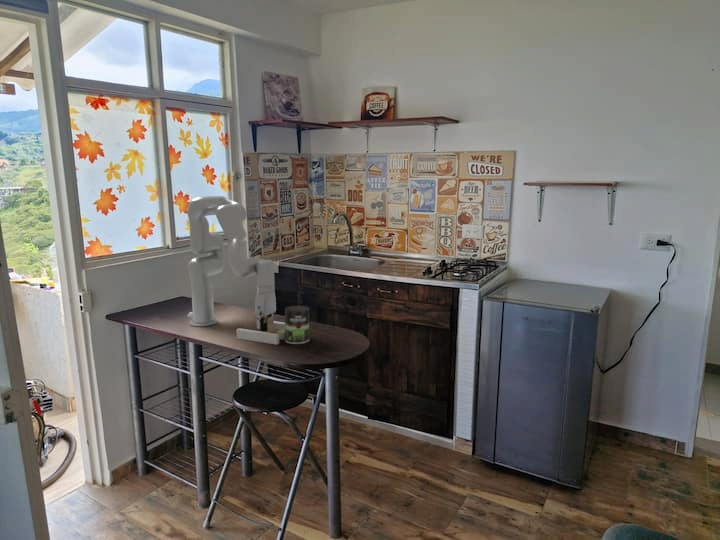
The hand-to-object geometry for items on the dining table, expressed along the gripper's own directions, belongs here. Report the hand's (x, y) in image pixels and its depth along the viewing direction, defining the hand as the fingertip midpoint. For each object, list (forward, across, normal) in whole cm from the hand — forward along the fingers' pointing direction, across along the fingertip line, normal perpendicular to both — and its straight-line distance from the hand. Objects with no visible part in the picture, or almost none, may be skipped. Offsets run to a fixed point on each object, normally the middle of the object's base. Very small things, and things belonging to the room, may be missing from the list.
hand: (266, 329), depth 217 cm
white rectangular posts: (+3, 0, 0) cm, 3 cm away
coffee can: (+3, 0, +15) cm, 16 cm away
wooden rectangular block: (+3, 0, +4) cm, 5 cm away
